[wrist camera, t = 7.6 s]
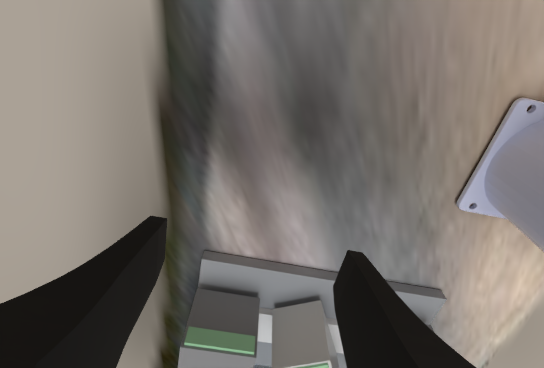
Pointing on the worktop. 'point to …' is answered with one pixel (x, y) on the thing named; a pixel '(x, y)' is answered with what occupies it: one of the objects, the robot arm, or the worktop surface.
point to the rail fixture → (265, 309)
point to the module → (302, 337)
